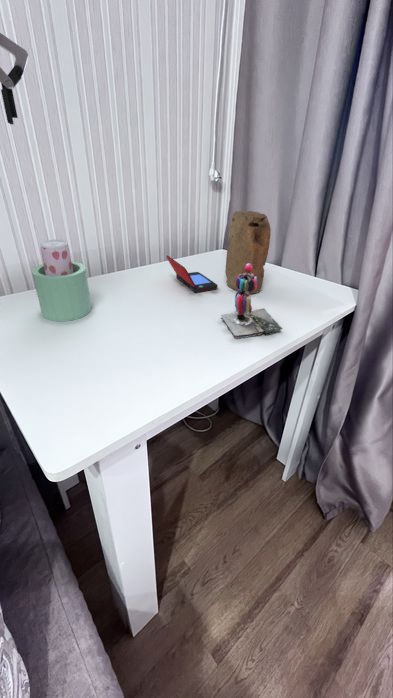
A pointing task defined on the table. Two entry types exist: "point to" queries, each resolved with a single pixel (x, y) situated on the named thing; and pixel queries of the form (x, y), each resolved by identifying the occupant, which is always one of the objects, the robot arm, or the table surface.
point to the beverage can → (56, 257)
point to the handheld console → (192, 278)
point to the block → (247, 246)
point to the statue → (248, 310)
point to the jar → (63, 293)
